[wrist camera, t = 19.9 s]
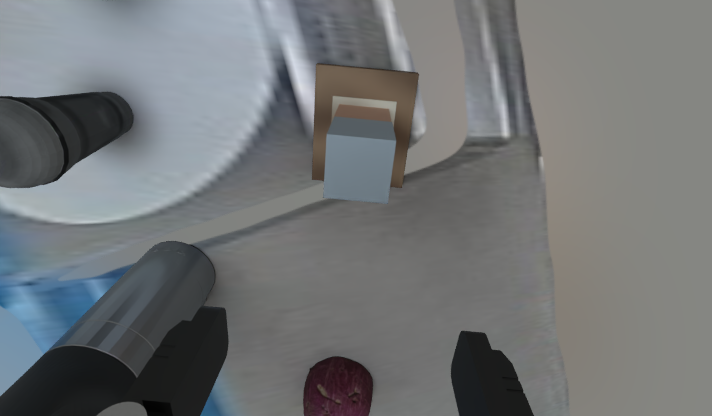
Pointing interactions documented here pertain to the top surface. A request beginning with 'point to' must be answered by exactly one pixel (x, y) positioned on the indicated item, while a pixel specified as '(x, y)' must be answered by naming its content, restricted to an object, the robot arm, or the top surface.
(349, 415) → the vegetable
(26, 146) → the beverage cup
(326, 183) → the slate block
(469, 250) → the top surface
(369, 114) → the terracotta block
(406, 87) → the board
